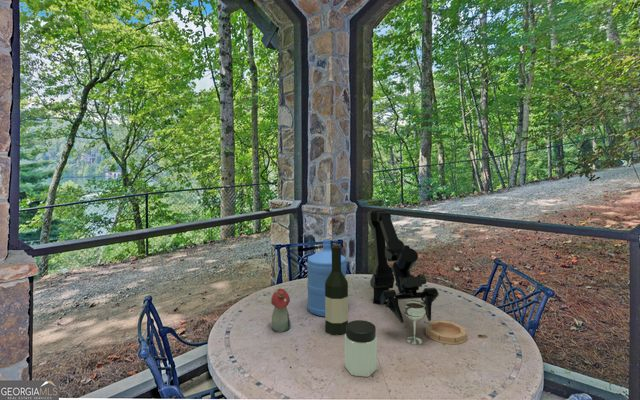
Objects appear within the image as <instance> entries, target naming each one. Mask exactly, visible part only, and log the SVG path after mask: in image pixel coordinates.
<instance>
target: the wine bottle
mask: <svg viewBox="0 0 640 400" xmlns="http://www.w3.org/2000/svg"><path fill="white" fill-rule="evenodd" d="M331 250H332V271H331V273H330V274H329V276H328V278H327V279H326V281H325V316H324V317H325V319H324V322H325V326H324V327H325V328H324V329H325V330H324V331H325V333H327V334H328V335H332V336H344V335H345V334H346V325H347V324H348V323H349V283H348V280H347V278H346V276H344V275H343V273H342V271H341V255H342V247H341V245H340V243H332V246H331Z"/></svg>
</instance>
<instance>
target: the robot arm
mask: <svg viewBox="0 0 640 400" xmlns="http://www.w3.org/2000/svg"><path fill="white" fill-rule="evenodd" d="M366 218H367V221H368V225H369V227H370V229H371V230H372V232H373V240H374V241H373V242H374V255H375V263H376V264H375V266H374V269H373V271H372V276H371V278H370V281H369V283H370V287H371V288H372V289H373V300H372V303H373V304H377V305H378V304H379V305H381V306H385V307H386V308H388V309H389V310H390V311H392V313H393V314H394V315H395V317H396V318H397V319H398V321H400V323H401V324H403V323H404V317H403V313H402V311H401V308H400V305H399V300H414V299H421V302H423V303H424V304H425V305H426V307H425V309H426V314H425V316H426V318H427V320H428V322H431V320H432V305H433V303H434V302H435V300H437V298H438V297H439V296H440V294H439V291H438V289H437V288H436V287H425V288H424V289H423V290H422V291H419V290H420V288H422V287H423V285H427V278H426V275H425V274H424V273H420V274H417V276H414V275H412V273H411V269H413V267H414V265H415V264H416V262H417V261H418V259H419V254H418V252H417V251H416V250H415V249H413V248H411V247H410V245H408V244H407V245H405V243H404V241H402V240H400V239H399V237H398V235H397V232H396V229H395V226H394V224H393V221H392V214H391V212H389V211H386V210H385V209H370V210H369V212H367V214H366ZM388 262H393V264H392V265H391V267H390V265H389V263H388ZM394 284H395V285H394ZM394 286H395V287H396V288H397V290H398V293H396V290H394V289H393V288H394ZM417 291H418V292H417Z"/></svg>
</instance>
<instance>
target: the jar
mask: <svg viewBox="0 0 640 400" xmlns="http://www.w3.org/2000/svg"><path fill="white" fill-rule="evenodd" d="M376 330H377V329H376V326H375V324H374V323H372V322H371V321H368V320H363V319H362V320H361V319H359V320H358V319H357V320H352V321H348V324H347V325H346V333H345V334H344V367H345V368H346V369H347V371H348V372H349V374H350V375H351V376H353V375H354V376H355V377H356V376H357V377H367V378H368V377H370V376H372V374H373V373H375V372H376V371H377V370H378V337H377V335H376Z"/></svg>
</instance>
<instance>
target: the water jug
mask: <svg viewBox="0 0 640 400" xmlns="http://www.w3.org/2000/svg"><path fill="white" fill-rule="evenodd" d="M331 245H332V244H331V239H323V240H322V250H320V251H317V252H316V253H314V254H312V255H309V256H308V258H307V265H306V266H307V268H306V269H307V310H308V312H310V313H311V314H312V315H315V316H318V317H325V281H326V279H327V278H328V276H329V274H330V273H331V271H332V246H331ZM347 266H348V265H347V258H346V257H345V255H342V254H341V271H342V273H343V275H344V276H345V277H346V276H347Z"/></svg>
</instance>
